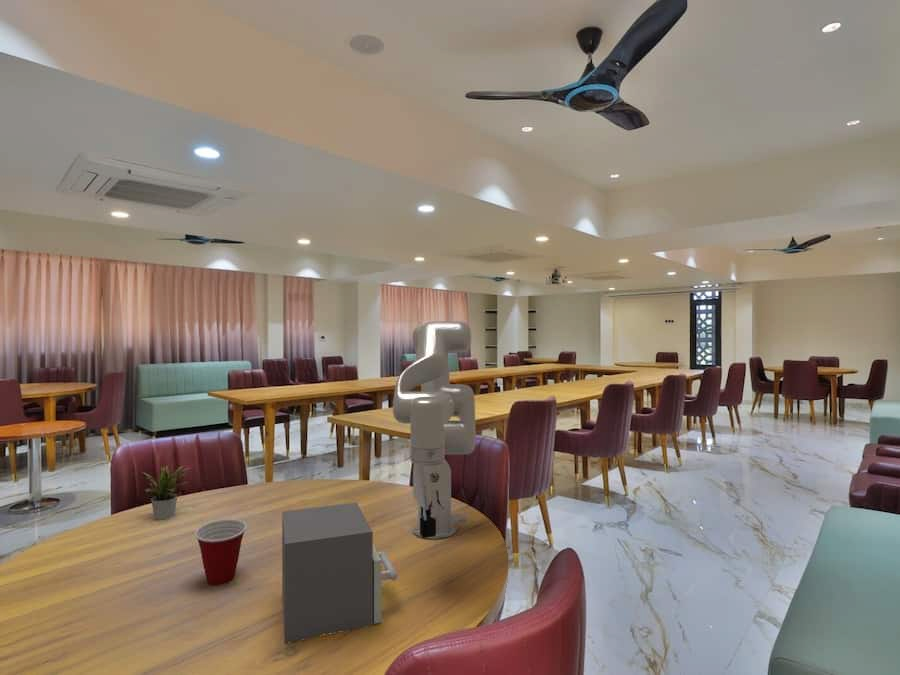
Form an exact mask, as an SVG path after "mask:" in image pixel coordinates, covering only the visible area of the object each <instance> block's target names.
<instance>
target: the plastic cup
mask: <svg viewBox="0 0 900 675" xmlns="http://www.w3.org/2000/svg"><path fill="white" fill-rule="evenodd" d="M247 526H248V525H247V524H246V523H245V521H243V520H240V519H234V518H226V519H217V520H213V521H210V522H208V523H207V522H206V523H205V524H202V525H201V526H198V528H196V530H195V532H194V536H195V538H196V540H197V542H198V545H199V547H200V554H201V561H202V566H203V570H204V575H205V580H206V583H207V584H208V585H211V586H222V585H225V584H228V583H230V582H232V581H233V580H234V579H235V576H236V573H237V568H238V567H237V566H238V562H239V558H240V550H241V545H242V540H243V537H244V534H245V532H246V530H247Z"/></svg>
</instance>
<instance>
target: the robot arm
mask: <svg viewBox="0 0 900 675" xmlns="http://www.w3.org/2000/svg"><path fill="white" fill-rule="evenodd" d="M411 335H412V345H413V349H414V350H413V351H414V352H415V356H416V357H415V360H414V362H412V363H411V364H409V365H408V366H406V367H405V369H404V370H403V371H402V372H401V373H400V375H399V376H398V378H397V380H396V383H395V385H394V386H395V387H394V392H393V401H392V414H393V418H394V419H395V420H396V421H397V423H399V424H403V425H404V424H406V425H407V424H408V425H410V426H409V428H410V430H409V432H410V462H411V463H413V469H412V472H413V473H412V490H413V491H412V492H413V497H414V499H415V500H416V502H417V522H415V524H413V526H412V532H413V534H414V535H415V536H417V537H420V538H422V539H429V540H430V539H431V540H438V539H445V538H449V537H451V536H453V535H455V533H456V532H457V524H458V523H465V522H467V521H468V516H467V514H462V515H460V513H458V512H457V513H452V494H451V493H452V469H451V467H450V465H449V463H448V461H447V460H446V459H445V458H446V457H445V456H446V455H469V454H472V453H473V452H474V451H475V448H476V441H477V440H476V439H477V438H476V437H477V436H476V434H477V433H476V403H475V394H474V391H473V389H472V387H471V386H469V385H467V384H462V383H461V384H460V383H459V384H458V383H457V384H455V383H454V384H453V383H451V382H450V368H449V354H465V353H468V352H469V350H470V348H471V345H472V332H471V329H470V326H469V324H467V322H465V321H458V320H457V321H456V320H455V321H454V320H453V321H449V320H448V321H445V320H444V321H441V320H439V321H438V320H437V321H435V320H434V321H429V322H425V323H424V324H422V325H420V326H417V327H415V328H414V329H413V332H412V334H411ZM418 386H420V387H421V388H420V391H418V390H417V391H412V390H413V389H415V388H416V387H418ZM452 417H456V418H458V419H459V420H450V419H452Z"/></svg>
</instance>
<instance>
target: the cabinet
mask: <svg viewBox="0 0 900 675" xmlns="http://www.w3.org/2000/svg"><path fill="white" fill-rule="evenodd" d="M281 515H282V516H281V518H282V519H281V520H282V521H281V522H282V524H281V525H282V526H281V527H282V528H281V531H282V532H281V534H282V535H281V537H282V538H281V539H282V540H281V541H282V542H281V544H282V548H281V549H282V552H281V553H282V554H281V556H282V557H281V559H282V560H281V562H282V563H281V565H282V568H281V570H282V573H281V574H282V576H281V578H282V579H281V582H282V583H281V584H282V588H281V590H282V592H281V593H282V594H281V595H282V596H281V597H282V599H281V600H282V612H283V613H282V615H283V636H284V637H283V638H284V639H285V640H284V644H285V643H287V644H289V643H288V642H292V643H294V642H293V641H296V642H300V641H299V640H301V641H303V640H302V639H306V640H309V639H308V638H311V639H313V638H312V637H316V636H320V635H323V634H329V633H334V632H339V631H345V632H347V631H346V630H349V631H353V630H352V629H354V630H358V629H357V628H359V629H362V628H361V627H364V628H366V627H365V626H369V627H372V626H371V625H373V624H374V622H373V545H374V542H373V540H374V539H373V538H374V537H373V536H374V534H373V533H374V532H373V530H372V528H371V527H370V524H369V522H368V521H367V519H366V517H365V515H364V513H363V511H362V510H361V508H360V506H359V504H358V502H350V503H342V504H335V505H326V506H317V507H309V508H300V509H291V510H289V509H288V510H283V511H282V514H281ZM316 638H317V637H316Z"/></svg>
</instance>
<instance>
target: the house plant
mask: <svg viewBox="0 0 900 675" xmlns="http://www.w3.org/2000/svg"><path fill="white" fill-rule="evenodd" d="M183 467H184V465H182V466H180V467H178V468H177V469H176V470H175V471H174V473H172V474H170V470H169V466H168V465H167V464H165V466H163V467H160V470H161V475H160V478H159V480H158V483H157V480H155V479H154V477H153V476H152V475H150V474H148V473H146V472H144V471H142V472H141V473H142V474H144V475H146V476H147V477H146V479H147V480H149V481H150V482H151V483H149V487H150V488H145V489H144V490H145V493H146V492H150V493H152V494H153V495H154V497H152V498H151V499H150V501H151V506H152V512H153V517H154V520H155V521H158V520H162V521H166V520H165V519H168V520H170V519H169V518H171V517H173V516H174V517H175V512H176V507H177V501H178V494H175V492H176V491H177V490H178V489H179V488H180V487H181V486H183V485H184V486H186V483H187V484H188V481H186V482H183V483H177V481H178V479H179V478H181V477H182V476H185V475H186V473H184V474H181V473H183V472H184V471H186V470H189V469H191V467H188V468H187V467H186V468H184V469H182V468H183ZM180 474H181V475H180ZM179 475H180V476H179ZM177 486H178V487H177ZM176 487H177V488H176ZM172 492H173V493H172ZM174 517H173V518H174ZM171 519H172V518H171Z"/></svg>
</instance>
